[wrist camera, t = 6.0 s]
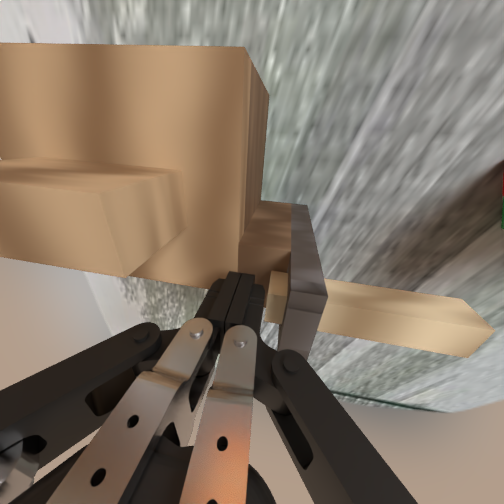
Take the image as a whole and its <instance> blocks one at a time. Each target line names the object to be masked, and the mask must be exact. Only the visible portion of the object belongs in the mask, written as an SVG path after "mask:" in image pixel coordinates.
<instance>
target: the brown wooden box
mask: <svg viewBox="0 0 504 504" xmlns="http://www.w3.org/2000/svg"><path fill="white" fill-rule="evenodd" d="M268 106H269V94H268V92H267V90H266V88H265V86H264V84H263V82H262V80H261V78H260V76H259V74H258V72H257V70H256V68H255V67H254V65H253V63H252V61H251V83H250V105H249V128H248V150H247V173H246V195H245V217H244V234H243V236H242V238H241V240H240V242H239V244H238V272H240V273H247V274H253V275H255V284H259V285H263V287H264V289H265V299H264V308H266V304H267V297H268V290H269V284H270V277H271V271H277V272H284V273H288V292H287V301H286V306H285V311H284V316H283V321H282V324H279V333H278V348H277V351H278V352H279V351H280V350H284V349H291V350H294V351H296V352H298V353H300V354H301V355H302V356H303V357H304V358H305V359H306V361H307V359H308V356H309V353H310V350H311V347H312V344H313V341H314V338H315V335H316V332H317V329H318V326H319V323H320V320H321V317H322V314H323V311H324V308H325V305H326V302H327V299H328V293H327V289H326V285H325V280H324V276H323V272H322V267H321V263H320V259H319V255H318V250H317V246H316V242H315V237H314V233H313V229H312V224H311V220H310V216H309V211H308V207H307V205H299V204H290V203H281V202H272V201H262V200H261V189H262V177H263V165H264V153H265V141H266V129H267V118H268Z"/></svg>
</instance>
